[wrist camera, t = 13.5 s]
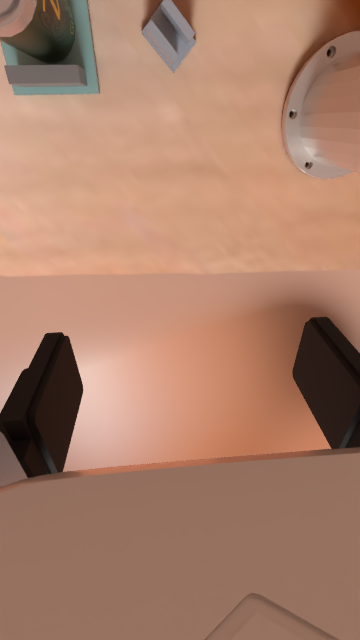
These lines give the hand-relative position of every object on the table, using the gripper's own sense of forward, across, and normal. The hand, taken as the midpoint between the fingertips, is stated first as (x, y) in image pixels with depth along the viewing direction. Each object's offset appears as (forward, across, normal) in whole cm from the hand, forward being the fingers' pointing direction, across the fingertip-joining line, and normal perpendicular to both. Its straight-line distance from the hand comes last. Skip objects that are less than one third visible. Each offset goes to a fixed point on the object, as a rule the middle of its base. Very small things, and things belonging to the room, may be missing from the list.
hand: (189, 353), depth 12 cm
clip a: (+28, -1, -14) cm, 32 cm away
